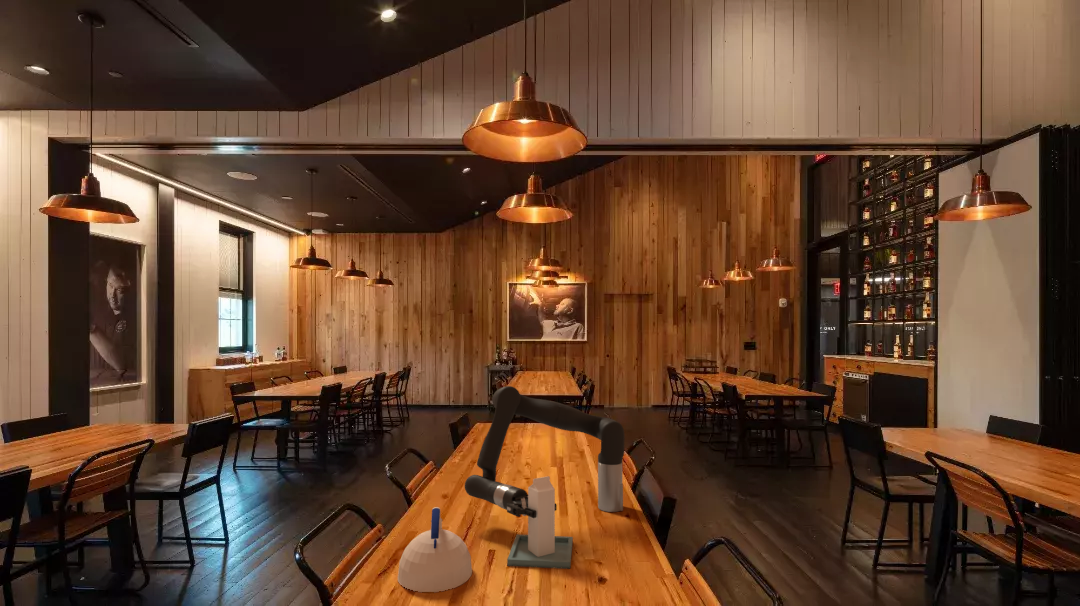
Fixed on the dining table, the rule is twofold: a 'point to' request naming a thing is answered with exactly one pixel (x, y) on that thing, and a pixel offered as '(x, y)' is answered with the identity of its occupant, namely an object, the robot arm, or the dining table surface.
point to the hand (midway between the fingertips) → (545, 510)
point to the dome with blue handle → (435, 560)
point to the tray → (528, 559)
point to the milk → (541, 517)
